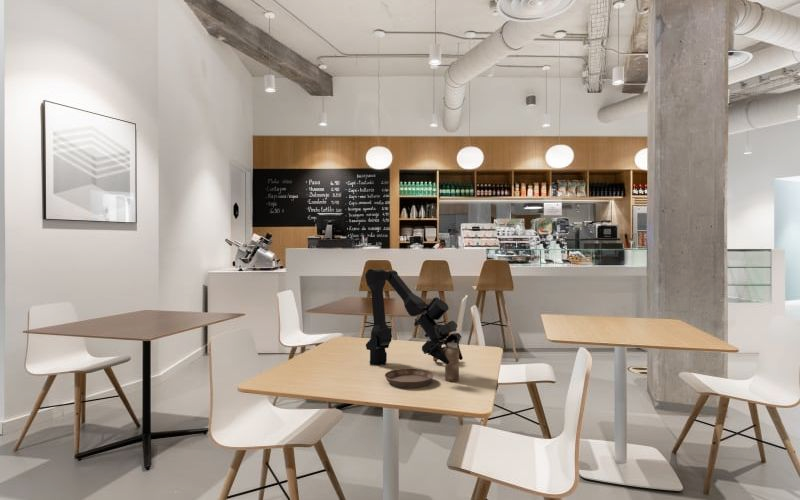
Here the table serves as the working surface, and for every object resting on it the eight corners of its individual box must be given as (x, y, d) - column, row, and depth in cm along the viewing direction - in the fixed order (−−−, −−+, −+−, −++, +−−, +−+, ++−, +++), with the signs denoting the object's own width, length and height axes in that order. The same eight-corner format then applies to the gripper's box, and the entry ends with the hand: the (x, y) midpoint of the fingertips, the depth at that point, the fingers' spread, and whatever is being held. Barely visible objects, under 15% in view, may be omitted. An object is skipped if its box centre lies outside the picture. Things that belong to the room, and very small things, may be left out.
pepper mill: (446, 382, 173) (446, 345, 173) (444, 378, 178) (444, 342, 178) (460, 382, 173) (460, 344, 173) (457, 378, 178) (457, 342, 178)
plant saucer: (391, 391, 162) (391, 382, 162) (379, 377, 179) (379, 369, 179) (440, 387, 167) (440, 379, 167) (424, 374, 184) (424, 366, 184)
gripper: (428, 316, 171) (454, 352, 164) (457, 311, 185) (482, 344, 178) (411, 336, 176) (435, 371, 169) (440, 329, 190) (464, 361, 183)
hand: (455, 361), depth 174 cm, fingers open, 8 cm apart
